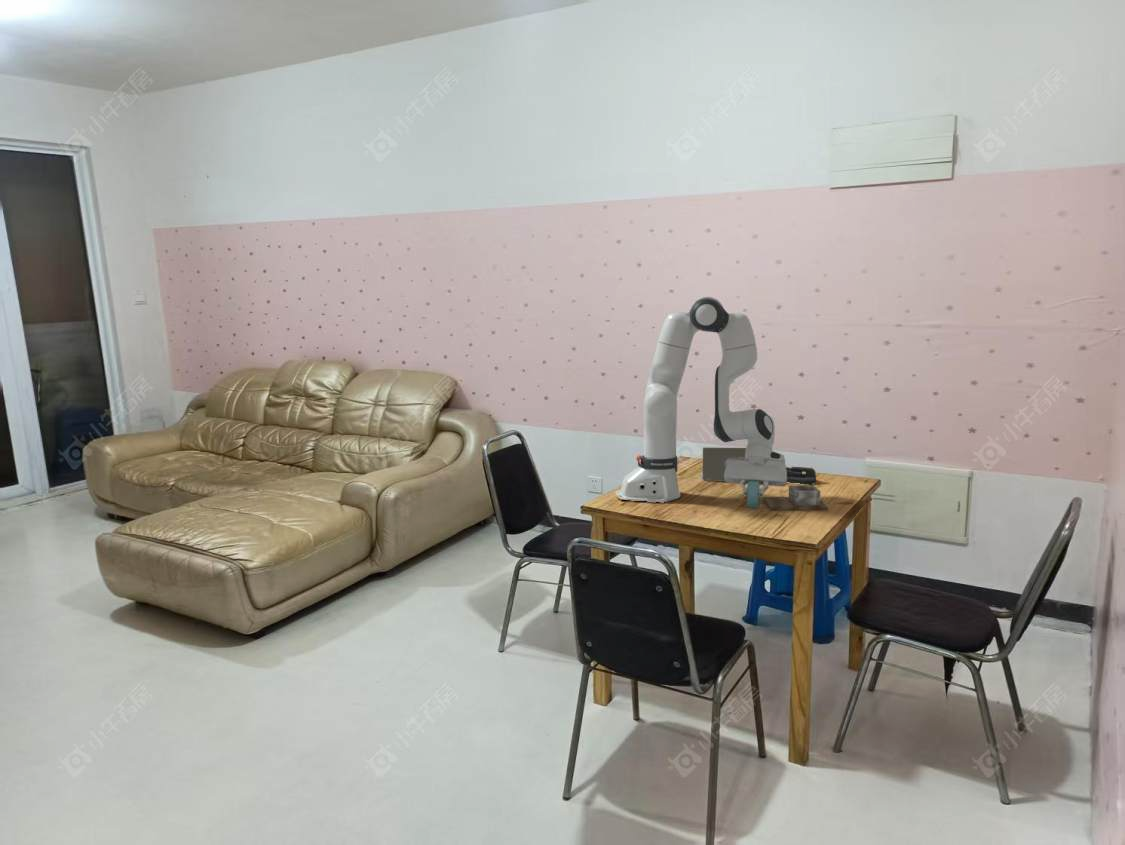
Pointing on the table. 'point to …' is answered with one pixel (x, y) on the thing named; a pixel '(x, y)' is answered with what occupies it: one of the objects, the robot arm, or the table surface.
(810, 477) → the black stapler
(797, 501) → the walnut socket board
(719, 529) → the table surface
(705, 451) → the laptop
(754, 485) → the teal rounded oblong piece
